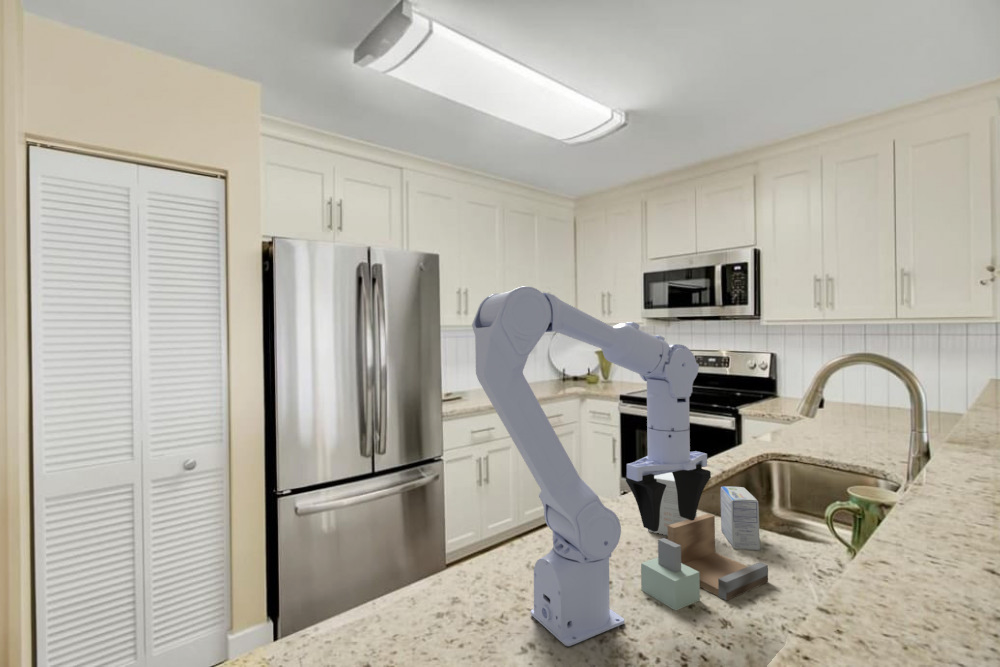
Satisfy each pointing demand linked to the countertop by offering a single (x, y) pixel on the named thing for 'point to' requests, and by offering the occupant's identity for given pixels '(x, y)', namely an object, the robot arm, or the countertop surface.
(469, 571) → the countertop surface
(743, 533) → the medicine box
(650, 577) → the mint block with tab
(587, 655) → the countertop surface
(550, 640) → the countertop surface
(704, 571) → the board
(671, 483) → the small box
